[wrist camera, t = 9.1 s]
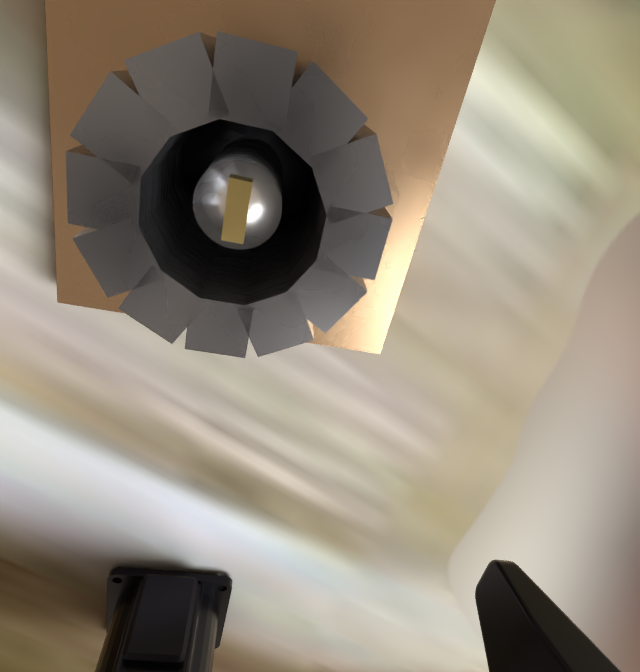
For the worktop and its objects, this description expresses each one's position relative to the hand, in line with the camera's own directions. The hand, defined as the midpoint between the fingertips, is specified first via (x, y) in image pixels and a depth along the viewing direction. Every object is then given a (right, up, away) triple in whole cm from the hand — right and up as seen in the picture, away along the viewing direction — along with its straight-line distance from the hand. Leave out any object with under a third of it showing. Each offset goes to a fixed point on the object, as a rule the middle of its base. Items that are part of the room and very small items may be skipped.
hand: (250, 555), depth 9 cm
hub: (-1, +9, +6) cm, 11 cm away
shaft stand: (-1, +10, +8) cm, 12 cm away
